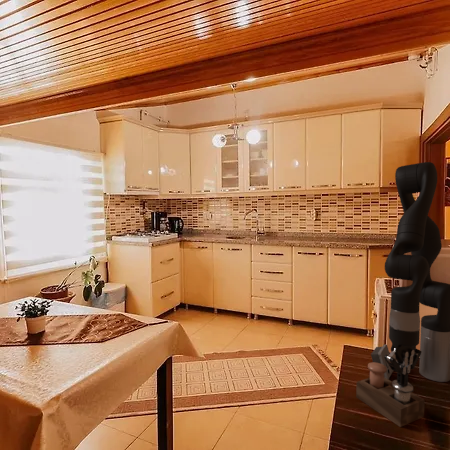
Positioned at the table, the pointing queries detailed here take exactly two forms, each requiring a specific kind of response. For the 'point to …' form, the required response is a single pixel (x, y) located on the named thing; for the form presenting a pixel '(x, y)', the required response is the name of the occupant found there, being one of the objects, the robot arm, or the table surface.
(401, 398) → the grey plug
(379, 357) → the electrical switch
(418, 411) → the socket board
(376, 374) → the terracotta plug
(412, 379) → the table surface
